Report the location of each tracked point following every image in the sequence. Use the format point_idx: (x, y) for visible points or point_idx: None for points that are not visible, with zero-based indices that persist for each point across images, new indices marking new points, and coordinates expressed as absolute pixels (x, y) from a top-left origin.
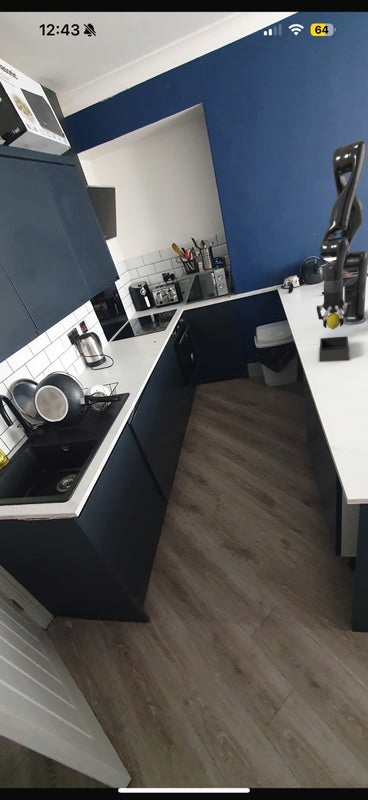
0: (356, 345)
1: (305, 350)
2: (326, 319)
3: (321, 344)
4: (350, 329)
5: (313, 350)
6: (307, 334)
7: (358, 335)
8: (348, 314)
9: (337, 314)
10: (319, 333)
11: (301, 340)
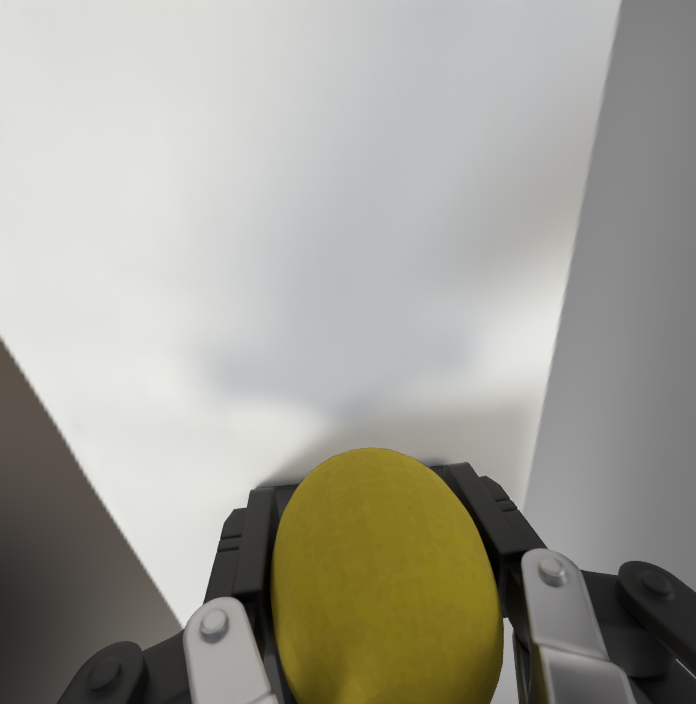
0: (503, 453)
1: (141, 528)
2: (267, 619)
3: (274, 661)
4: (500, 89)
5: (207, 526)
6: (19, 162)
7: (545, 271)
8: (677, 682)
9: (493, 691)
10: (168, 153)
11: (17, 335)
